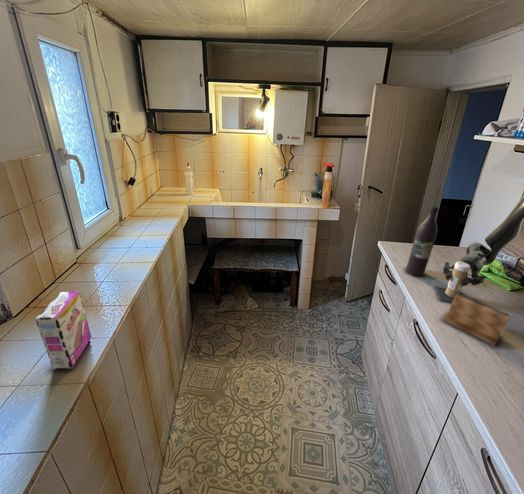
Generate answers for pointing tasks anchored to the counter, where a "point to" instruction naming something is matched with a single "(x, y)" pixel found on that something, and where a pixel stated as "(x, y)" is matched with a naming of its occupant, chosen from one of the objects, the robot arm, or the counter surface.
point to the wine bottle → (423, 244)
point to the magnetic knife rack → (476, 318)
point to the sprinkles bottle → (457, 279)
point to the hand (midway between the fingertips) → (455, 280)
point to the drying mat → (444, 295)
